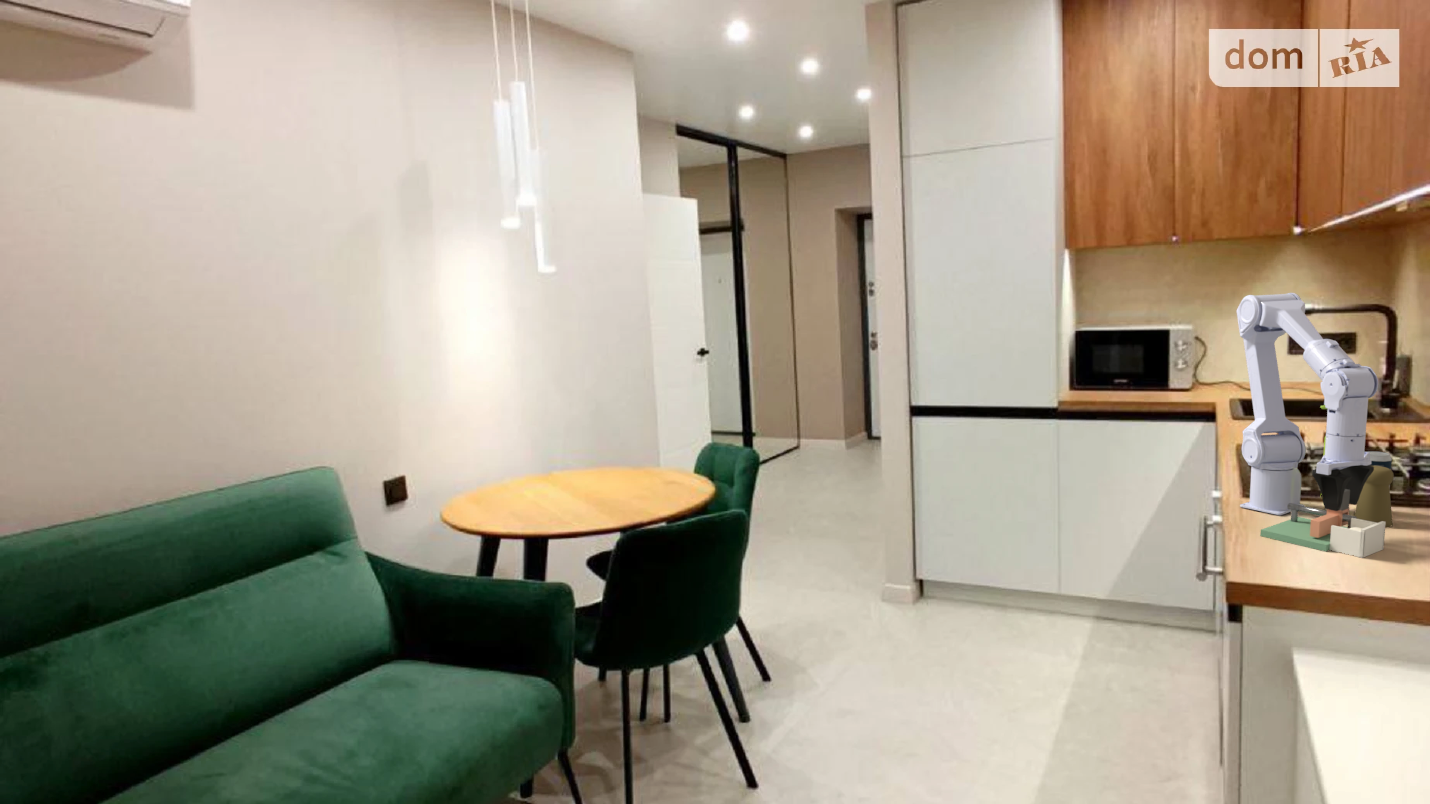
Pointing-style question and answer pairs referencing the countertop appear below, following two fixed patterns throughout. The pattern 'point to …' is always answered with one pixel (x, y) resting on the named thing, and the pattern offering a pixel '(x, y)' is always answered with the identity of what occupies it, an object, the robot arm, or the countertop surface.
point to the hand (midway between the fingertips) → (1340, 506)
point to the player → (1330, 518)
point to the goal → (1358, 538)
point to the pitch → (1297, 534)
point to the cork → (1376, 497)
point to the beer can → (1380, 459)
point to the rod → (1315, 511)
